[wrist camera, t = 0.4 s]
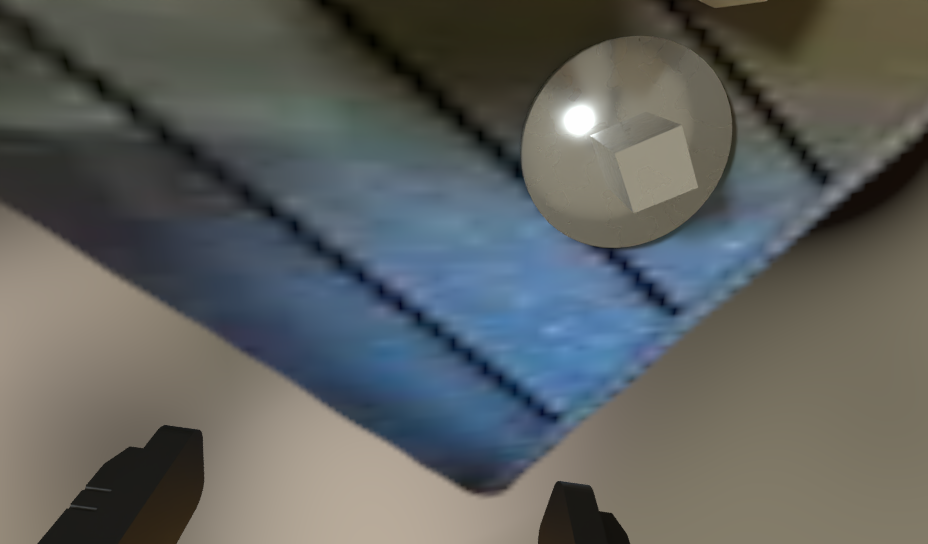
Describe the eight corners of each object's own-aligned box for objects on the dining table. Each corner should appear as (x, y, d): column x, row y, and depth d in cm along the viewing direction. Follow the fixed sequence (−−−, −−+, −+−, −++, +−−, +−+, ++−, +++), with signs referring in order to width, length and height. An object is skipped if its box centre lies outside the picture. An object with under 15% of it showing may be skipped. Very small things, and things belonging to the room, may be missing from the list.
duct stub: (488, 92, 34) (495, 104, 28) (698, -4, 32) (758, -16, 25) (559, 270, 39) (578, 314, 33) (743, 198, 37) (802, 230, 31)
